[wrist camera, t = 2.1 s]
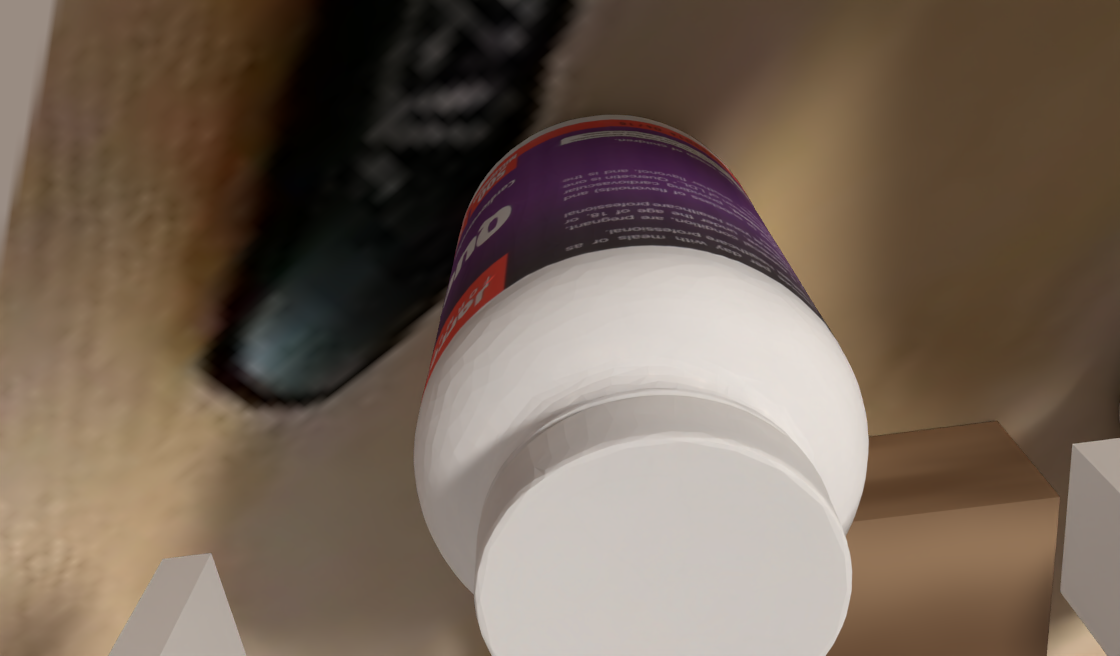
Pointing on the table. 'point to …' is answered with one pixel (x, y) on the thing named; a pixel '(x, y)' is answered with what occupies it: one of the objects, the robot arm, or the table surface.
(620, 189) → the pill bottle
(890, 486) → the step stand
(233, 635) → the robot arm
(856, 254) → the table surface
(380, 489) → the table surface
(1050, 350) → the table surface
